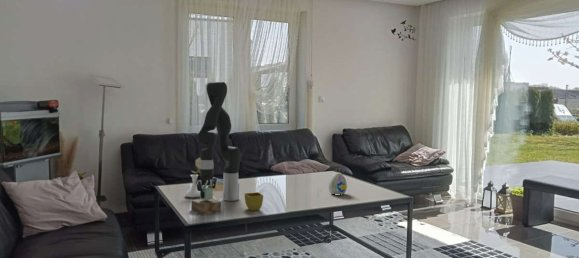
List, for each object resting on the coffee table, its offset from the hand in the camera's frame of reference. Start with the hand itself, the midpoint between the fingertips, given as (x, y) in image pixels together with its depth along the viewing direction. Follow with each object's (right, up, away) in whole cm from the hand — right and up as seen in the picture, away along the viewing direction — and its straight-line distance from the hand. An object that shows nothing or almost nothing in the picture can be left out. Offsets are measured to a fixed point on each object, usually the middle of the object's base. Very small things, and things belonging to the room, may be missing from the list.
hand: (206, 197), depth 246 cm
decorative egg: (+79, -6, +50) cm, 94 cm away
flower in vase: (-13, -5, +32) cm, 35 cm away
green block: (0, -1, 0) cm, 1 cm away
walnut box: (0, -8, +1) cm, 8 cm away
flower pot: (+26, -8, +6) cm, 28 cm away
